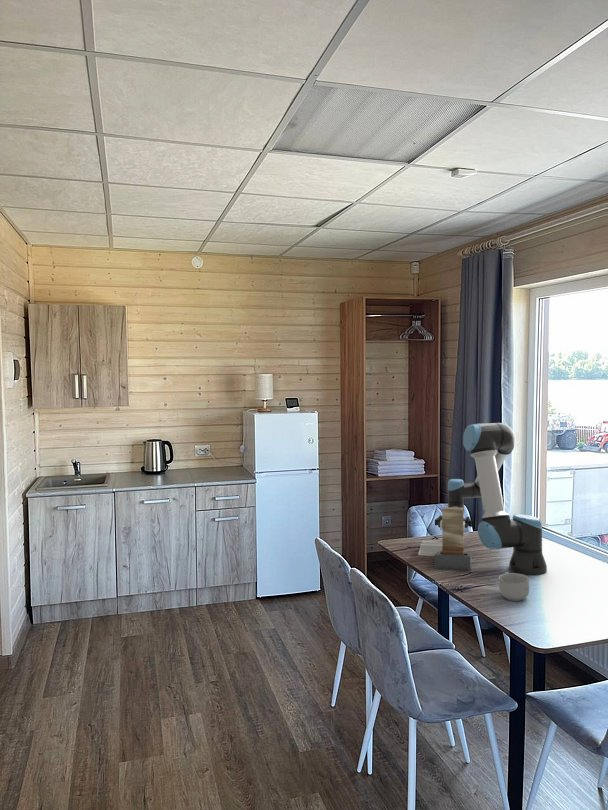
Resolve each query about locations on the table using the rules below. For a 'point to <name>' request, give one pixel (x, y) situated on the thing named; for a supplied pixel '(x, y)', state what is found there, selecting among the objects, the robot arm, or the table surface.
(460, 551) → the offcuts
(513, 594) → the teacup
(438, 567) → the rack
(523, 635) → the table surface
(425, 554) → the stand
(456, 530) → the birch sheet
